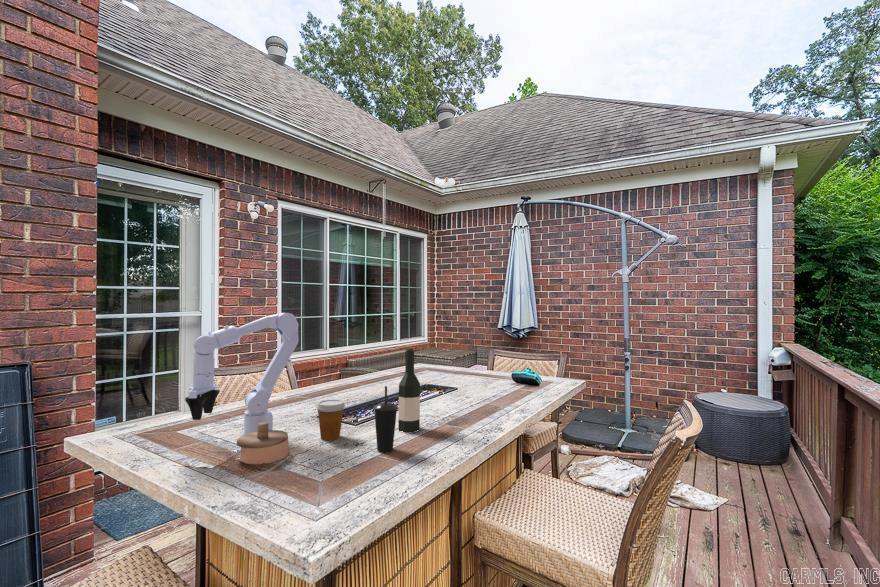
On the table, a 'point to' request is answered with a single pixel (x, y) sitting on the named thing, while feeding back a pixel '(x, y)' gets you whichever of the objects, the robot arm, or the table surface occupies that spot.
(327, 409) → the disposable coffee cup
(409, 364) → the wine bottle
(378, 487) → the table surface
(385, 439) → the drinking cup
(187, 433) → the table surface
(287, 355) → the robot arm
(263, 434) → the lid
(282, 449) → the bowl
